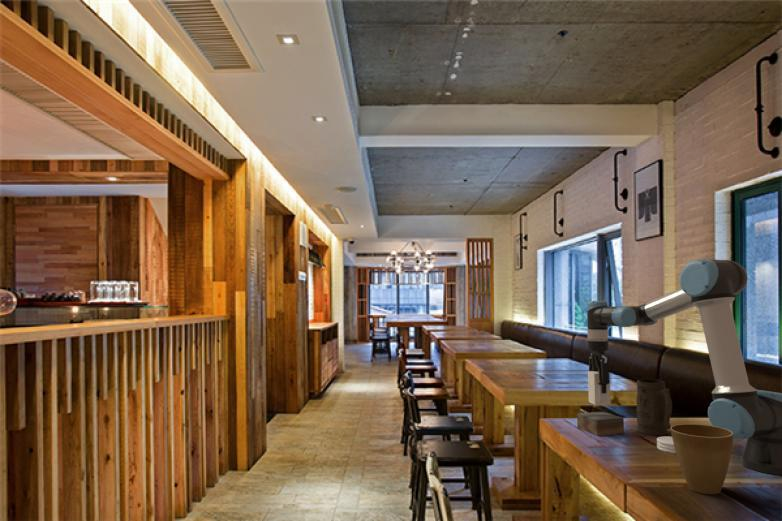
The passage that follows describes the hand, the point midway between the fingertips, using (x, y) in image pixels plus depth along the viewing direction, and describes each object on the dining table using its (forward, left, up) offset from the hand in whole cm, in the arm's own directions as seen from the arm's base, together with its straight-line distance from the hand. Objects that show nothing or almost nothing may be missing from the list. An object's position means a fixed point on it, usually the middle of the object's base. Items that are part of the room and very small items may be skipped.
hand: (599, 399), depth 209 cm
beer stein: (-5, -20, -12) cm, 24 cm away
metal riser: (0, 0, -12) cm, 12 cm away
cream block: (0, 0, -1) cm, 1 cm away
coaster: (-26, -14, -12) cm, 32 cm away
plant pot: (-63, -1, -12) cm, 64 cm away
